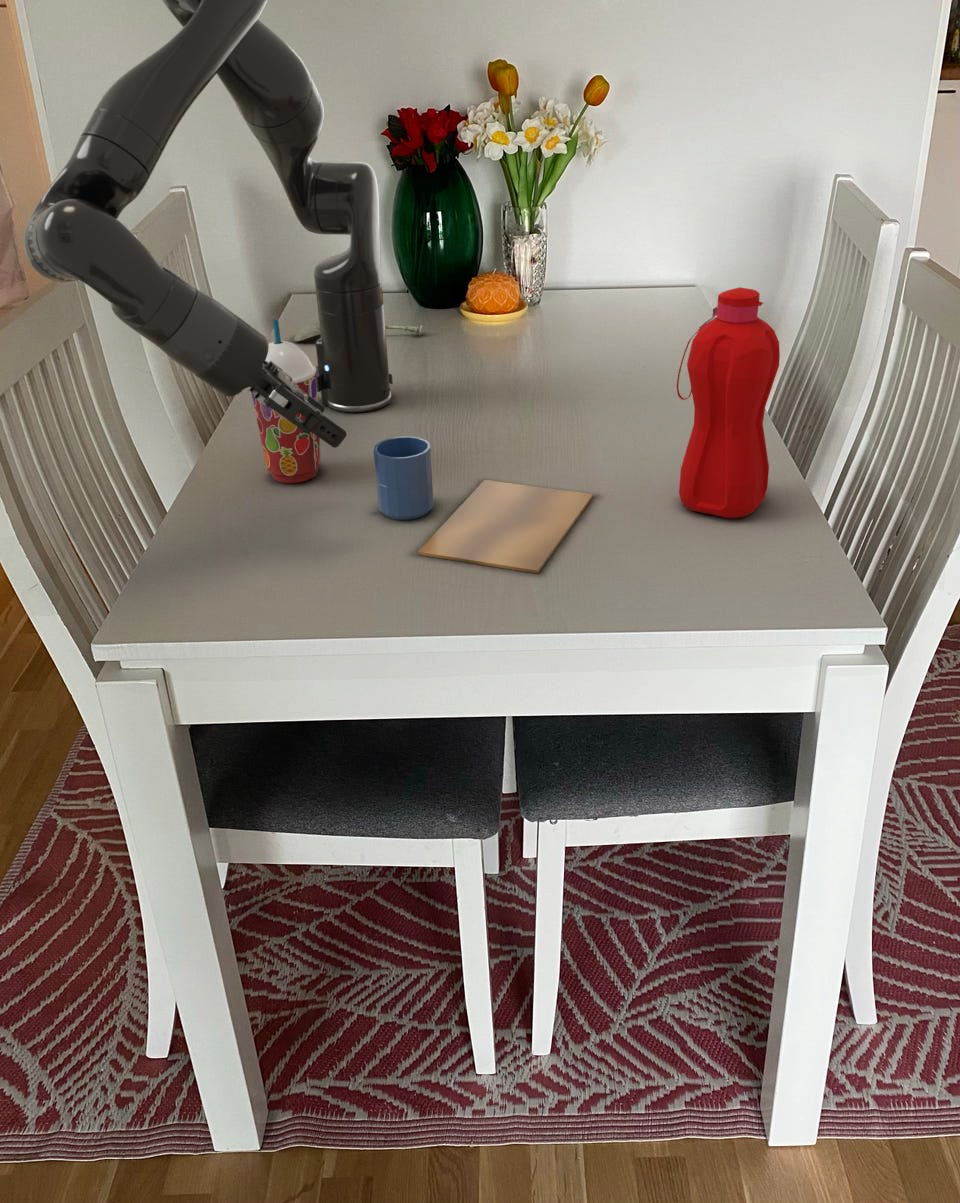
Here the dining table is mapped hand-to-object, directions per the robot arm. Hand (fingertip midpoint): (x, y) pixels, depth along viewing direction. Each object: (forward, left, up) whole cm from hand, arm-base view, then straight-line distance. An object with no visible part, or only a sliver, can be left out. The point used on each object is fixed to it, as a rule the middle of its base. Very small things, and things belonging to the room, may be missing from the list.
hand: (329, 427), depth 128 cm
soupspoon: (-30, +65, -12) cm, 72 cm away
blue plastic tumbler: (+6, +6, -12) cm, 15 cm away
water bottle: (+40, +19, -12) cm, 46 cm away
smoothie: (-12, +11, -12) cm, 20 cm away
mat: (+19, +6, -12) cm, 23 cm away
